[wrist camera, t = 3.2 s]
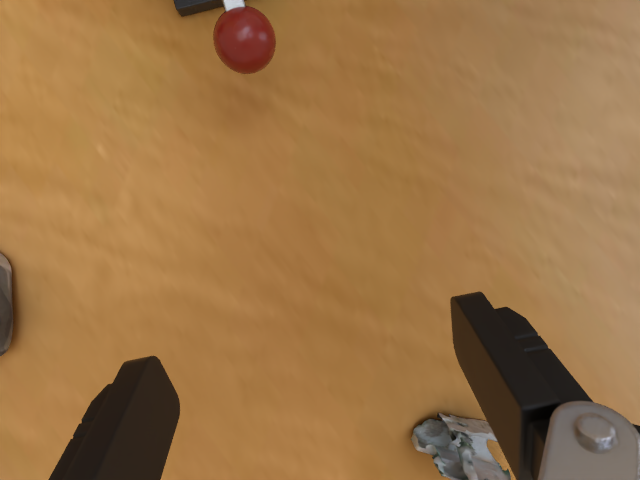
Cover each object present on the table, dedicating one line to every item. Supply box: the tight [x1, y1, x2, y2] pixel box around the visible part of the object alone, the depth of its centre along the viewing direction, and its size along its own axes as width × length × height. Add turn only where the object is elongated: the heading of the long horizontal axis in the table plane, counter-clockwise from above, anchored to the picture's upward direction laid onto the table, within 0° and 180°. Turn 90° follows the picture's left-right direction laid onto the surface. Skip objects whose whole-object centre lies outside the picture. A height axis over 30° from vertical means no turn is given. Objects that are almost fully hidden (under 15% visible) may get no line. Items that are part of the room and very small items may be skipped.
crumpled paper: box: [411, 413, 511, 480], centre depth 30 cm, size 4×8×7 cm, turn 73°
